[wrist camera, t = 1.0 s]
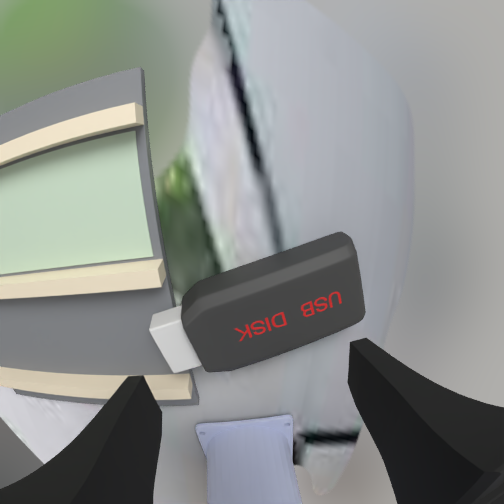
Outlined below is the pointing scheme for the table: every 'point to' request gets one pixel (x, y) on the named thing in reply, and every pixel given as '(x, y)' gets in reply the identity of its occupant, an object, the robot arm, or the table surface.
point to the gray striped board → (83, 247)
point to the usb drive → (264, 308)
